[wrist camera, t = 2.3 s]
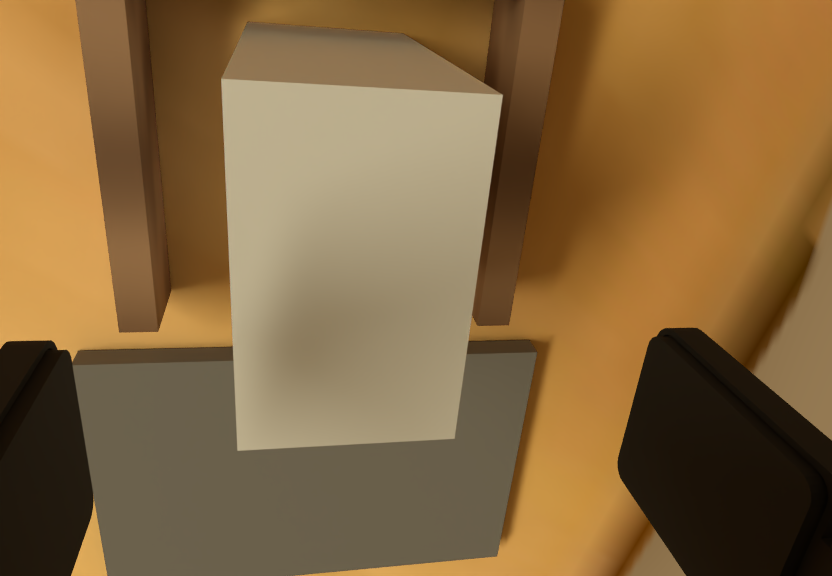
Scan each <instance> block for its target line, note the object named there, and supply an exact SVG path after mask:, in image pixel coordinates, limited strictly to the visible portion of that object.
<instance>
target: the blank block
mask: <svg viewBox="0 0 832 576" xmlns="http://www.w3.org/2000/svg"><path fill="white" fill-rule="evenodd" d="M221 86H222V109H223V131H224V154H225V177H226V200H227V223H228V246H229V269H230V292H231V314H232V337H233V360H234V383H235V406H236V429H237V451H243V450H261V449H279V448H297V447H315V446H333V445H351V444H370V443H388V442H406V441H424V440H442V439H455V432H456V425H457V417H458V410H459V403H460V396H461V389H462V382H463V375H464V368H465V361H466V354H467V346H468V339H469V332H470V325H471V318H472V311H473V304H474V297H475V290H476V282H477V275H478V268H479V261H480V254H481V247H482V240H483V233H484V226H485V219H486V211H487V204H488V197H489V190H490V183H491V176H492V169H493V162H494V155H495V147H496V140H497V133H498V126H499V119H500V112H501V105H502V98H503V95H502V94H501V93H499V92H497V91H496V90H494V89H492V88H491V87H489V86H488V85H486V84H484V83H483V82H481V81H479V80H478V79H476V78H475V77H473V76H471V75H470V74H468V73H466V72H465V71H463V70H462V69H460V68H458V67H457V66H455V65H453V64H452V63H450V62H449V61H447V60H445V59H444V58H442V57H441V56H439V55H437V54H436V53H434V52H432V51H431V50H429V49H428V48H426V47H424V46H423V45H421V44H419V43H418V42H416V41H415V40H413V39H411V38H410V37H408V36H406V35H405V34H403V33H392V32H378V31H365V30H352V29H338V28H325V27H312V26H298V25H285V24H272V23H259V22H247V24H246V26H245V29H244V31H243V33H242V35H241V37H240V39H239V42H238V44H237V46H236V48H235V50H234V52H233V54H232V57H231V59H230V61H229V63H228V65H227V67H226V70H225V72H224V74H223V76H222V78H221Z"/></svg>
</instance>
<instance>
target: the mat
mask: <svg viewBox="0 0 832 576" xmlns="http://www.w3.org/2000/svg"><path fill="white" fill-rule="evenodd" d="M536 356H537V351H536V350H535V348H534V346H533V345H532V343H531V342H530V340H507V341H468V346H467V354H466V361H465V368H464V375H463V382H462V389H461V396H460V403H459V410H458V417H457V425H456V432H455V439H442V440H424V441H406V442H388V443H370V444H351V445H333V446H315V447H297V448H279V449H261V450H243V451H237V429H236V406H235V383H234V360H233V347H212V348H170V349H128V350H86V351H78V352H77V354H76V356H75V358H74V360H73V362H72V366H73V372H74V378H75V384H76V390H77V396H78V402H79V409H80V415H81V421H82V427H83V433H84V439H85V445H86V451H87V458H88V464H89V470H90V476H91V482H92V488H93V495H94V501H95V506H96V512H97V518H98V524H99V529H100V535H101V541H102V547H103V552H104V558H105V564H106V570H107V575H108V576H295V575H305V574H316V573H326V572H337V571H348V570H358V569H369V568H379V567H390V566H400V565H411V564H421V563H432V562H443V561H453V560H464V559H474V558H485V557H495V556H497V554H498V549H499V544H500V539H501V534H502V529H503V524H504V519H505V514H506V508H507V503H508V498H509V493H510V488H511V483H512V478H513V473H514V468H515V463H516V458H517V453H518V448H519V443H520V437H521V432H522V427H523V422H524V417H525V412H526V407H527V402H528V397H529V392H530V387H531V382H532V377H533V372H534V366H535V361H536Z"/></svg>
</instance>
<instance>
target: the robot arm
mask: <svg viewBox="0 0 832 576" xmlns="http://www.w3.org/2000/svg"><path fill="white" fill-rule="evenodd" d="M618 471H619V475H620V478H621V479H622V481H623V483H624V484H625V486H626V487H627V489H628V490H629V492H630V493H631V495H632V496H633V498H634V499H635V501H636V502H637V504H638V505H639V506H640V508H641V509H642V511H643V512H644V514H645V515H646V517H647V518H648V520H649V521H650V523H651V524H652V526H653V527H654V529H655V530H656V532H657V533H658V535H659V536H660V538H661V539H662V540H663V542H664V543H665V545H666V546H667V548H668V549H669V551H670V552H671V553H672V555H673V557H674V558H675V560H676V561H677V563H678V564H679V566H680V567H681V568H682V570H683V572H684V573H685V574H686V576H832V441H831V440H830V439H829V438H828V437H827V436H826V435H824V434H823V433H822V432H820V431H819V430H818V429H817V428H816V427H815V426H814V425H812V424H811V423H810V422H809V421H808V420H807V419H805V418H804V417H803V416H802V415H801V414H800V413H798V412H797V411H796V410H795V409H794V408H792V407H791V406H790V405H789V404H788V403H786V402H785V401H784V400H783V399H782V398H781V397H779V396H778V395H777V394H776V393H775V392H774V391H772V390H771V389H770V388H769V387H768V386H766V385H765V384H764V383H763V382H761V381H760V380H759V379H758V378H757V377H756V376H755V375H753V374H752V373H751V372H750V371H749V370H747V369H746V368H745V367H744V366H743V365H742V364H740V363H739V362H738V361H737V360H736V359H734V358H733V357H732V356H731V355H730V354H729V353H727V352H726V351H725V350H724V349H723V348H721V347H720V346H719V345H718V344H717V343H716V342H714V341H713V340H712V339H711V338H710V337H708V336H707V335H706V334H705V333H704V332H702V331H701V330H699V329H698V328H665V329H663V330H661V331H660V332H659V334H658V335H657V337H654V338H652V339H651V340H650V342H649V345H648V348H647V352H646V355H645V359H644V363H643V367H642V370H641V374H640V378H639V382H638V385H637V389H636V393H635V397H634V400H633V404H632V408H631V412H630V415H629V419H628V423H627V427H626V430H625V434H624V438H623V442H622V445H621V449H620V453H619V457H618ZM92 510H93V488H92V482H91V476H90V470H89V464H88V458H87V451H86V445H85V439H84V433H83V427H82V421H81V415H80V409H79V402H78V396H77V390H76V384H75V378H74V372H73V366H72V360H71V356H70V353H69V352H68V351H67V350H57V347H56V345H55V343H54V342H53V341H9V342H6V343H5V344H4V345H3V346H2V348H1V349H0V576H71V574H72V571H73V568H74V565H75V562H76V559H77V557H78V554H79V551H80V548H81V545H82V542H83V539H84V536H85V533H86V531H87V528H88V525H89V522H90V519H91V515H92Z"/></svg>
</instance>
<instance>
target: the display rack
mask: <svg viewBox="0 0 832 576" xmlns="http://www.w3.org/2000/svg"><path fill="white" fill-rule="evenodd" d="M75 1H76V9H77V16H78V24H79V32H80V39H81V47H82V54H83V62H84V69H85V77H86V85H87V92H88V100H89V107H90V115H91V122H92V130H93V138H94V145H95V153H96V160H97V168H98V176H99V183H100V191H101V198H102V206H103V213H104V221H105V229H106V236H107V244H108V251H109V259H110V266H111V274H112V282H113V289H114V297H115V304H116V312H117V319H118V327H119V332H158V331H159V328H160V324H161V321H162V318H163V315H164V312H165V309H166V306H167V302H168V299H169V296H170V293H171V283H170V271H169V260H168V249H167V238H166V226H165V215H164V204H163V192H162V181H161V170H160V159H159V147H158V136H157V125H156V113H155V102H154V91H153V79H152V68H151V57H150V46H149V34H148V23H147V12H146V0H75ZM563 6H564V0H495V2H494V9H493V17H492V25H491V33H490V41H489V48H488V56H487V64H486V72H485V80H484V84H486V85H488V86H489V87H491V88H492V89H494V90H496V91H497V92H499V93H501V94H502V95H503V98H502V105H501V112H500V119H499V126H498V133H497V140H496V147H495V155H494V162H493V169H492V176H491V183H490V190H489V197H488V204H487V211H486V219H485V226H484V233H483V240H482V247H481V254H480V261H479V268H478V275H477V282H476V290H475V297H474V304H473V311H472V316H473V318H474V320H475V322H476V324H477V325H478V326H491V325H509V322H510V316H511V310H512V304H513V298H514V292H515V286H516V281H517V275H518V269H519V263H520V257H521V251H522V246H523V240H524V234H525V228H526V222H527V216H528V210H529V205H530V199H531V193H532V187H533V181H534V175H535V169H536V164H537V158H538V152H539V146H540V140H541V134H542V129H543V123H544V117H545V111H546V105H547V99H548V93H549V88H550V82H551V76H552V70H553V64H554V58H555V53H556V47H557V41H558V35H559V29H560V23H561V17H562V12H563Z"/></svg>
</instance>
